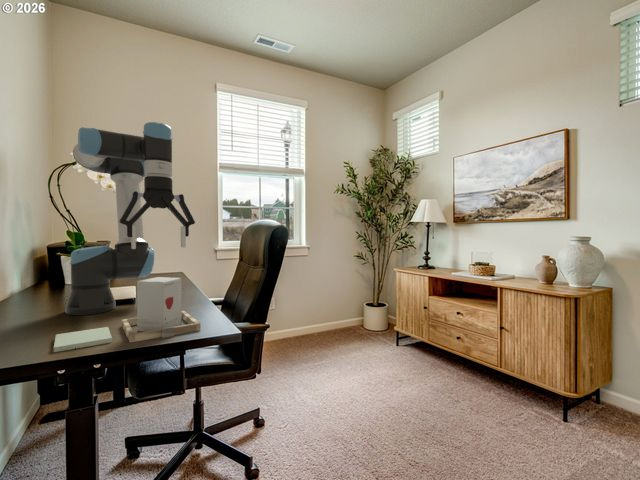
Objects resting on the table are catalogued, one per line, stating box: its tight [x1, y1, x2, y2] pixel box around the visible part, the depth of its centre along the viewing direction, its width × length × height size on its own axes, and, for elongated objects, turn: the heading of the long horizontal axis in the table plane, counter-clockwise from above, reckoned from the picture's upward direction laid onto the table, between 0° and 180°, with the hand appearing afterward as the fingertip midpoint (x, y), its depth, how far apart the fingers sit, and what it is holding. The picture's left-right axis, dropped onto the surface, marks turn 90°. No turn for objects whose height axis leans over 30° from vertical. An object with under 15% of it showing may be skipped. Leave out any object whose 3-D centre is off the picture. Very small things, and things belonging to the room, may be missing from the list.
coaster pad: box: [53, 326, 113, 353], centre depth 89 cm, size 12×12×1 cm
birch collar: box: [121, 310, 201, 343], centre depth 100 cm, size 20×18×2 cm
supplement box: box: [136, 276, 183, 332], centre depth 100 cm, size 9×9×15 cm
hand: (159, 248), depth 99 cm, fingers open, 13 cm apart
